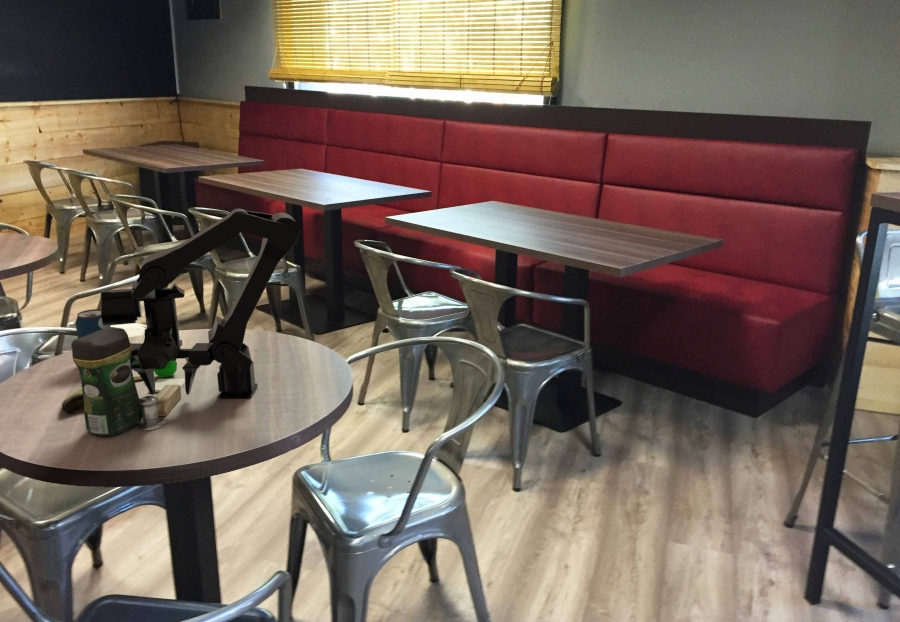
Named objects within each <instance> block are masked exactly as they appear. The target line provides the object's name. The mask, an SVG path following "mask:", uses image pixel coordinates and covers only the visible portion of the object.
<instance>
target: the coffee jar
mask: <svg viewBox="0 0 900 622" xmlns="http://www.w3.org/2000/svg"><path fill="white" fill-rule="evenodd" d="M130 343H131V342H130V338H129V335H128V333H127V331H126V330H125V329H124V328H123V327H122V328H121V327H113V326H110V327H106V328H105V329H102V330H100V331H97V332H94V333H92V334H89V335H87V336H84V337H81V338H78V337H77V338H75V339H73V341H72V342H71V345H70V346H71V351H72V352H71V355H72V360H73V363H74V364H75V366H76V367H77V369H78V372H79V375H80V383H81V389H82V392H83V402H84V409H83V413H84V414H83V415H84V423H85V429H86V431H87V432H88V433H90V434H92V435H94V436H98V437H104V436H115V435H118V434H120V433H122V432H125V431H126V430H129V429H130V428H132V427H133V426H135V425H138V424H139V423H140V422H142V421H143V416H142V408H141V406H140V405H139V404H138V400H139V399H140V397H139V393H138V390H137V385H136V381H134V377H135V376H134V373H133V370H132V368H131V360H130V356H131V344H130Z"/></svg>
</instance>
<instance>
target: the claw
mask: <svg viewBox="0 0 900 622" xmlns="http://www.w3.org/2000/svg"><path fill="white" fill-rule="evenodd" d="M133 377H134V381H135V382H139V381H143V380H142V378H141V377H140V375H138V376H133ZM61 409H62V411H63V412H65V413H66V414H73V413H77V412H79V410H80V411H82V410H81V409H83V410H84V402H83V392H82V388H80V389H79V390H76V391H75V392H73V393H72V394H70V395H69V396H68V397H65V399H64V400H63V402H62V403H61ZM76 411H77V412H76Z"/></svg>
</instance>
